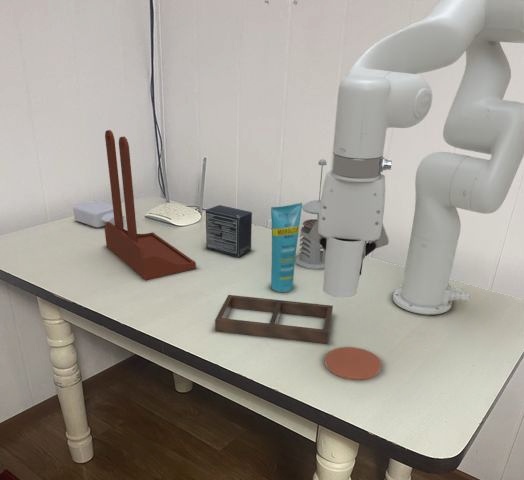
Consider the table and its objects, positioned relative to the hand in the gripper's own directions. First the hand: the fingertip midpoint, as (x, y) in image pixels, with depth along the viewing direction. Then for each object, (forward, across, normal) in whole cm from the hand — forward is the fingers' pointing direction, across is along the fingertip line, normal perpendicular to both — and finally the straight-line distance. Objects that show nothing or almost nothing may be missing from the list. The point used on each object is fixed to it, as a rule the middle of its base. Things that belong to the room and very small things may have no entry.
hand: (344, 276), depth 95 cm
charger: (+16, +70, -57) cm, 92 cm away
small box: (+16, +31, -46) cm, 58 cm away
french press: (+16, +8, -44) cm, 47 cm away
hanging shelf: (+16, +49, -36) cm, 63 cm away
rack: (+16, +13, -10) cm, 23 cm away
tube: (+16, +14, -27) cm, 34 cm away
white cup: (+3, 0, 0) cm, 3 cm away
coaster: (+16, -3, +2) cm, 16 cm away
